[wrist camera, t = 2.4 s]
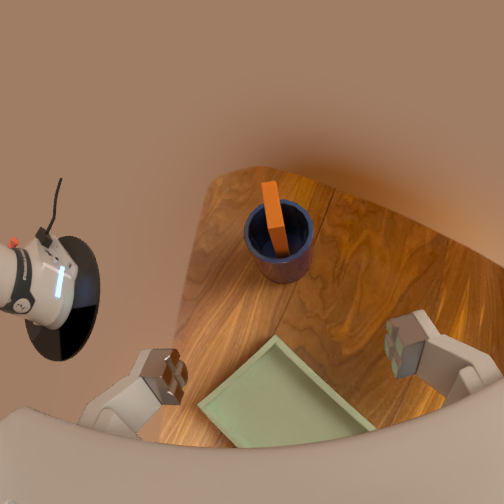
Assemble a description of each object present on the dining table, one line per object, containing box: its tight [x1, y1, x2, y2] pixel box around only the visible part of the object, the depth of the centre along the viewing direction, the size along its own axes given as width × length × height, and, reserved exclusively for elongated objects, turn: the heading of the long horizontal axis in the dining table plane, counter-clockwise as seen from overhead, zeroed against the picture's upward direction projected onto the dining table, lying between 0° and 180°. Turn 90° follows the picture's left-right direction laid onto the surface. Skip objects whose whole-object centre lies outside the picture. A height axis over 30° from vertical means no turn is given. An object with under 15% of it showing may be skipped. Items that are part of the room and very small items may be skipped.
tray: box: [197, 335, 377, 448], centre depth 28 cm, size 19×14×3 cm
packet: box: [261, 181, 290, 259], centre depth 30 cm, size 1×5×14 cm, turn 6°
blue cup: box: [244, 199, 314, 283], centre depth 33 cm, size 7×7×9 cm
